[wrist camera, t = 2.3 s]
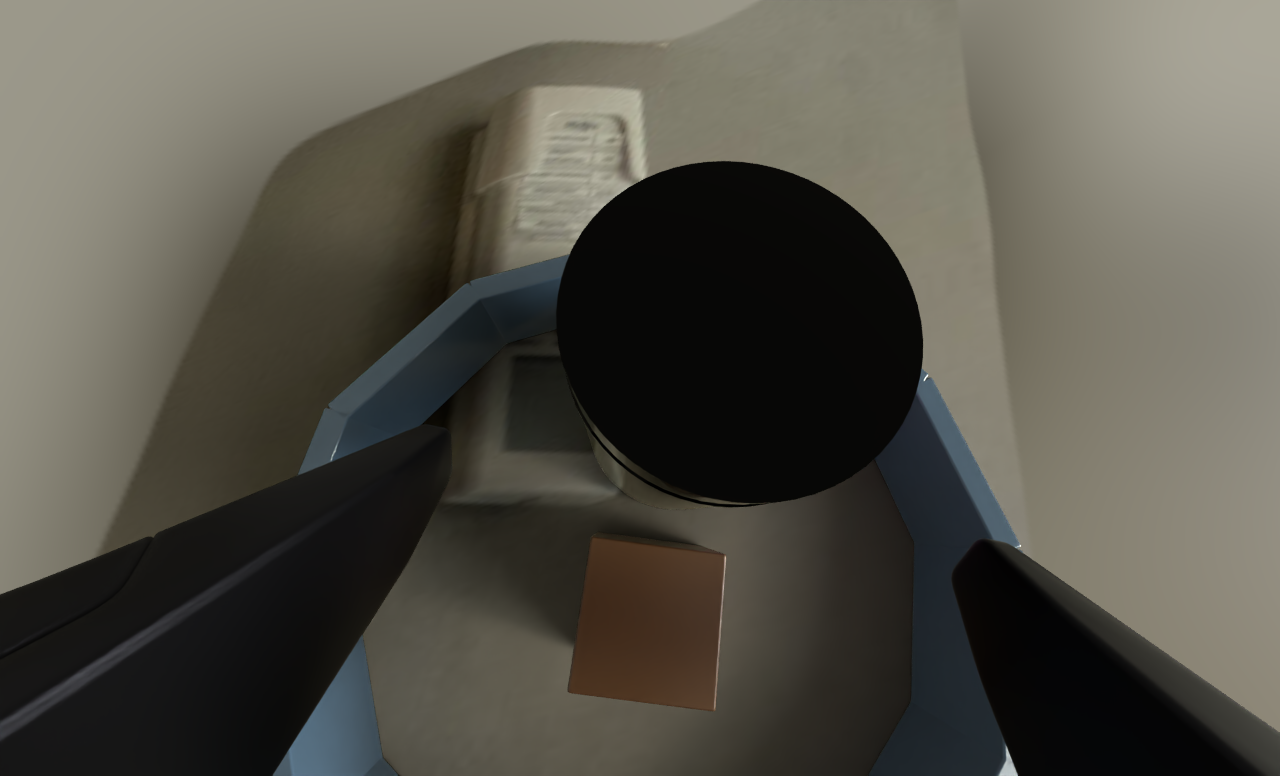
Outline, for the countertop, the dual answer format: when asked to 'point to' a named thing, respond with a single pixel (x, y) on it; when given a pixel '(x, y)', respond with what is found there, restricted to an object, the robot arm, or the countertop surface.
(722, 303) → the supplement container
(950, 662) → the blue polygonal ring
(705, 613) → the walnut block
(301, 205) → the countertop surface
